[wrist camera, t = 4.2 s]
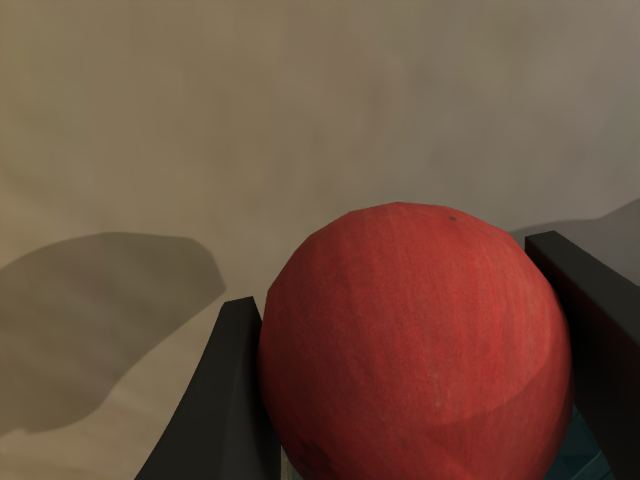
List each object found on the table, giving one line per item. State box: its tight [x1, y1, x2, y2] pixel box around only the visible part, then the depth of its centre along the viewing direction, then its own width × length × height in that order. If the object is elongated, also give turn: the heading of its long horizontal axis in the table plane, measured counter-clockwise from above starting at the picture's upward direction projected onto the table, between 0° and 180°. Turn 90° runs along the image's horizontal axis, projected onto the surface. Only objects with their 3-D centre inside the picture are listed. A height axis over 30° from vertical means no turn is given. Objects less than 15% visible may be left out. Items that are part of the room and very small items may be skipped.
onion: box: [256, 202, 575, 480], centre depth 11 cm, size 6×6×8 cm
